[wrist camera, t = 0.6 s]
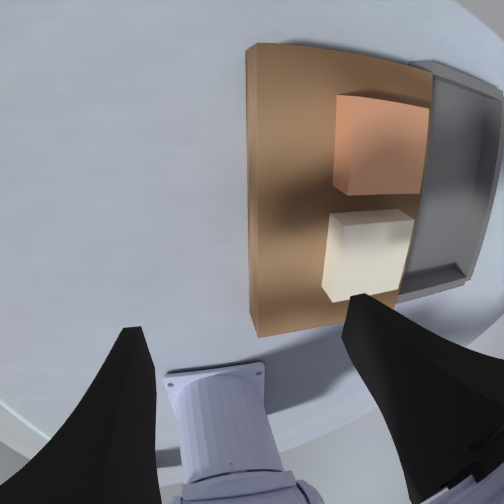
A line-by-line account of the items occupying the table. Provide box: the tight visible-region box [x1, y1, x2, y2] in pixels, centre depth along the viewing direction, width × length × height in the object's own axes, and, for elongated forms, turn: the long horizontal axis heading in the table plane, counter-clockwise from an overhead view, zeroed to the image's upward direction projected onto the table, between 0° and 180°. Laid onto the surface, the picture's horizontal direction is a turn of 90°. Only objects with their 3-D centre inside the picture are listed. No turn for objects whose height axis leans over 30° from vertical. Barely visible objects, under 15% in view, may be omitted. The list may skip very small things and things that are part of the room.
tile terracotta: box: [332, 95, 429, 196], centre depth 13 cm, size 4×4×2 cm
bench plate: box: [246, 43, 433, 338], centre depth 17 cm, size 16×10×2 cm, turn 1°
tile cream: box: [322, 209, 415, 303], centre depth 16 cm, size 4×4×2 cm
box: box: [396, 61, 504, 304], centre depth 18 cm, size 17×9×2 cm, turn 1°
